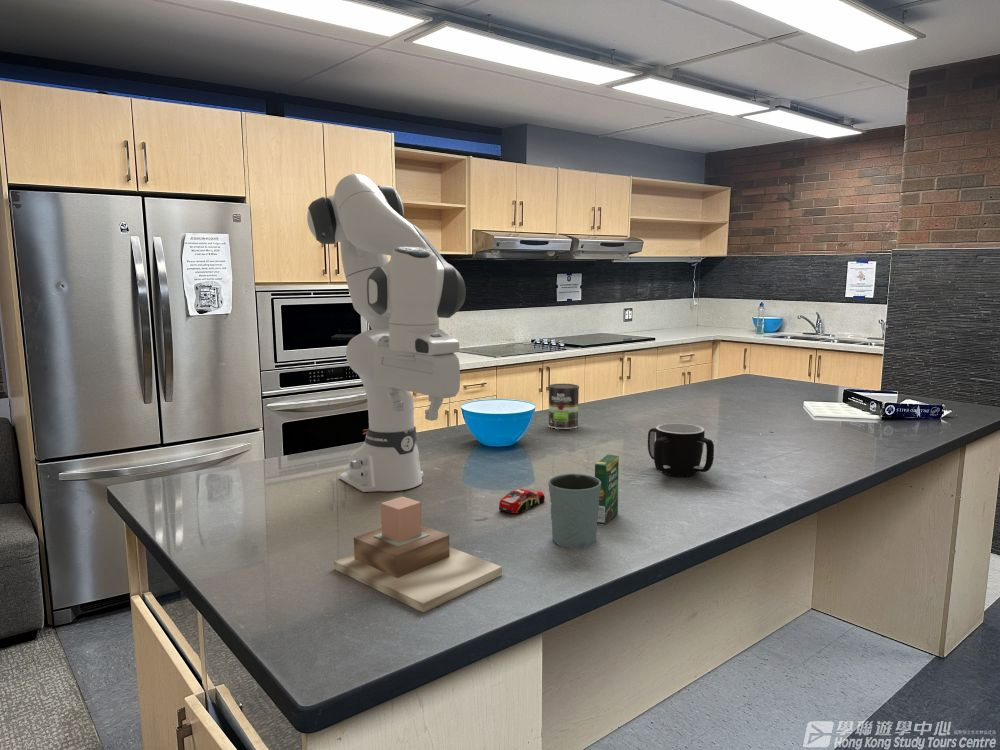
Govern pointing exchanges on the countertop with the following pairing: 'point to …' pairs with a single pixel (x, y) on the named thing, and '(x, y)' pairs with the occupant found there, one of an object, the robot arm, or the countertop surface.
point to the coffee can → (563, 406)
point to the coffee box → (607, 488)
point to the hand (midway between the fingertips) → (414, 415)
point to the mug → (679, 449)
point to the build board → (425, 579)
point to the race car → (520, 500)
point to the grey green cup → (574, 509)
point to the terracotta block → (401, 519)
